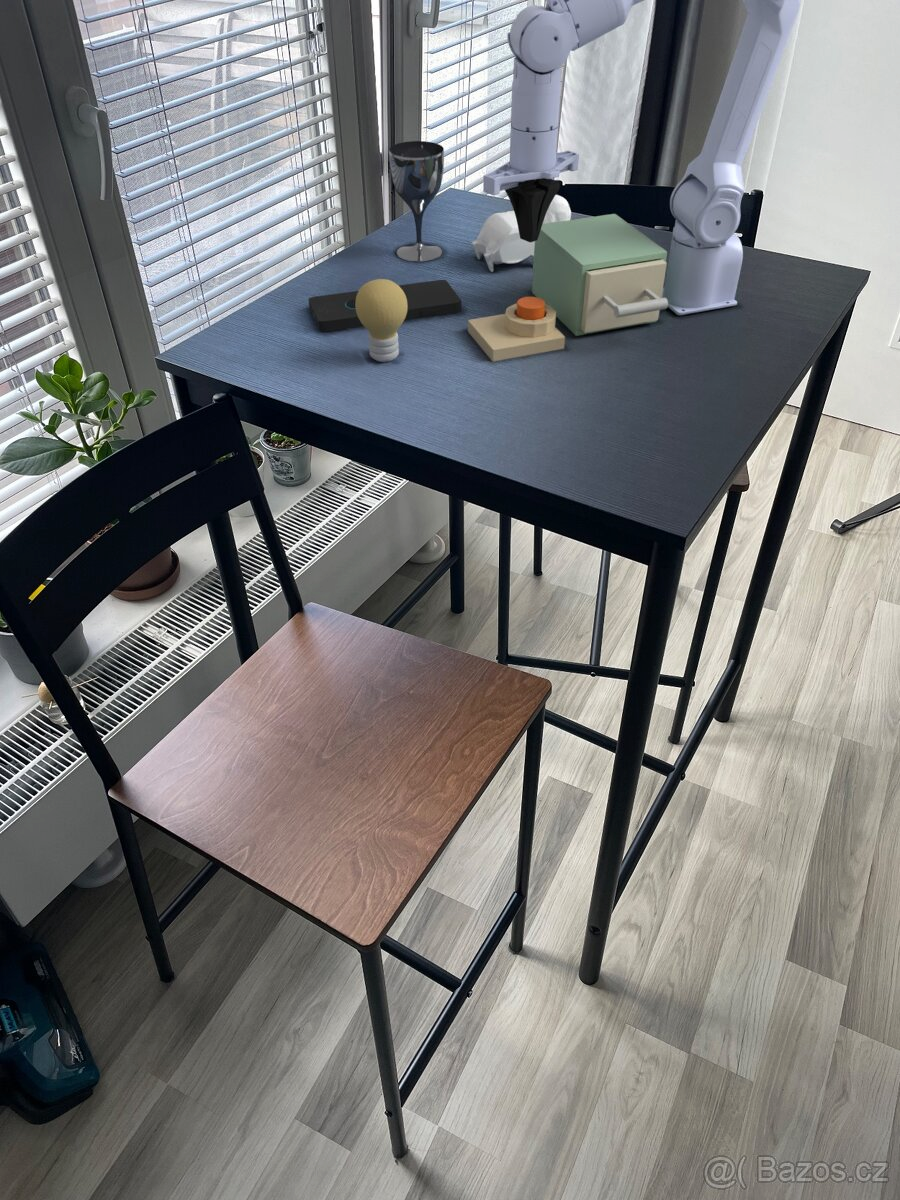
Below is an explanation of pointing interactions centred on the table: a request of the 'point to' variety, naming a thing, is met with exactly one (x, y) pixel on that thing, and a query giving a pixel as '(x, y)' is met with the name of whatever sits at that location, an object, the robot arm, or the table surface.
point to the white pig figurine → (513, 235)
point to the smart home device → (420, 300)
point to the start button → (530, 308)
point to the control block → (516, 334)
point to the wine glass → (417, 188)
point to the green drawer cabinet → (584, 260)
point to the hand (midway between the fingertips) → (528, 239)
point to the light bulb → (382, 316)
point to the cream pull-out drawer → (623, 295)
